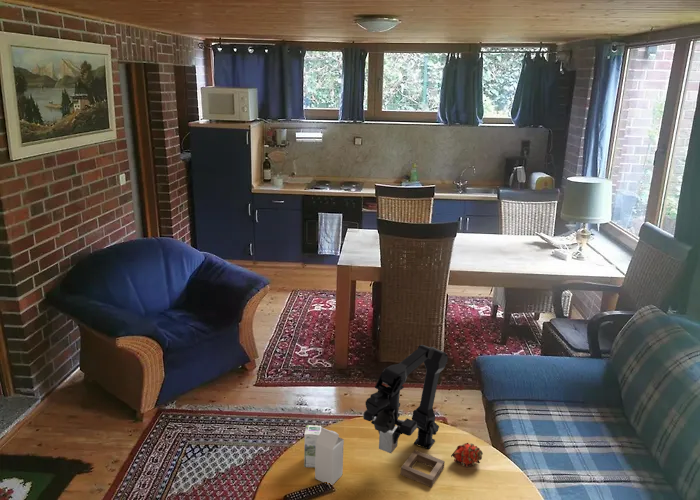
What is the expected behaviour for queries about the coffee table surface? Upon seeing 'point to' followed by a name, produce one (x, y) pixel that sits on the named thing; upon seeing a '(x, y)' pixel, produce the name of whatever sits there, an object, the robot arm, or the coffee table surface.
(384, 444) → the rectangular block
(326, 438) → the milk carton
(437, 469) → the well block
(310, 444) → the syrup box
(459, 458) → the dragon fruit
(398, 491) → the coffee table surface
